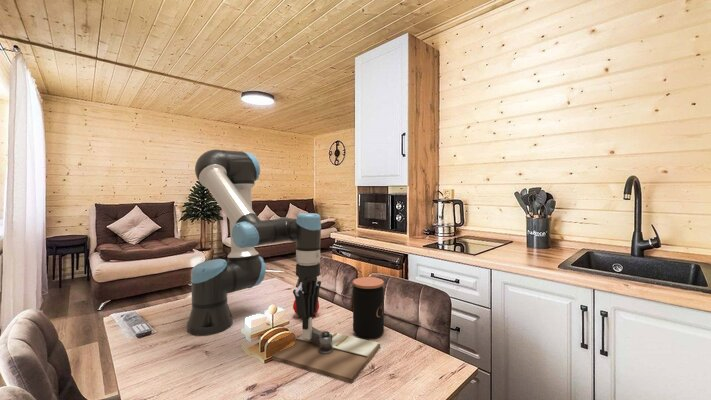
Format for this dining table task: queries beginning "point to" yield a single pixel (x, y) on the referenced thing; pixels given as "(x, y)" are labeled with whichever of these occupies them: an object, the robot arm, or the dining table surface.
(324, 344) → the swing bar
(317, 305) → the tomato
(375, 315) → the coffee jar
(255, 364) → the dining table surface
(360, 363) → the lock board
